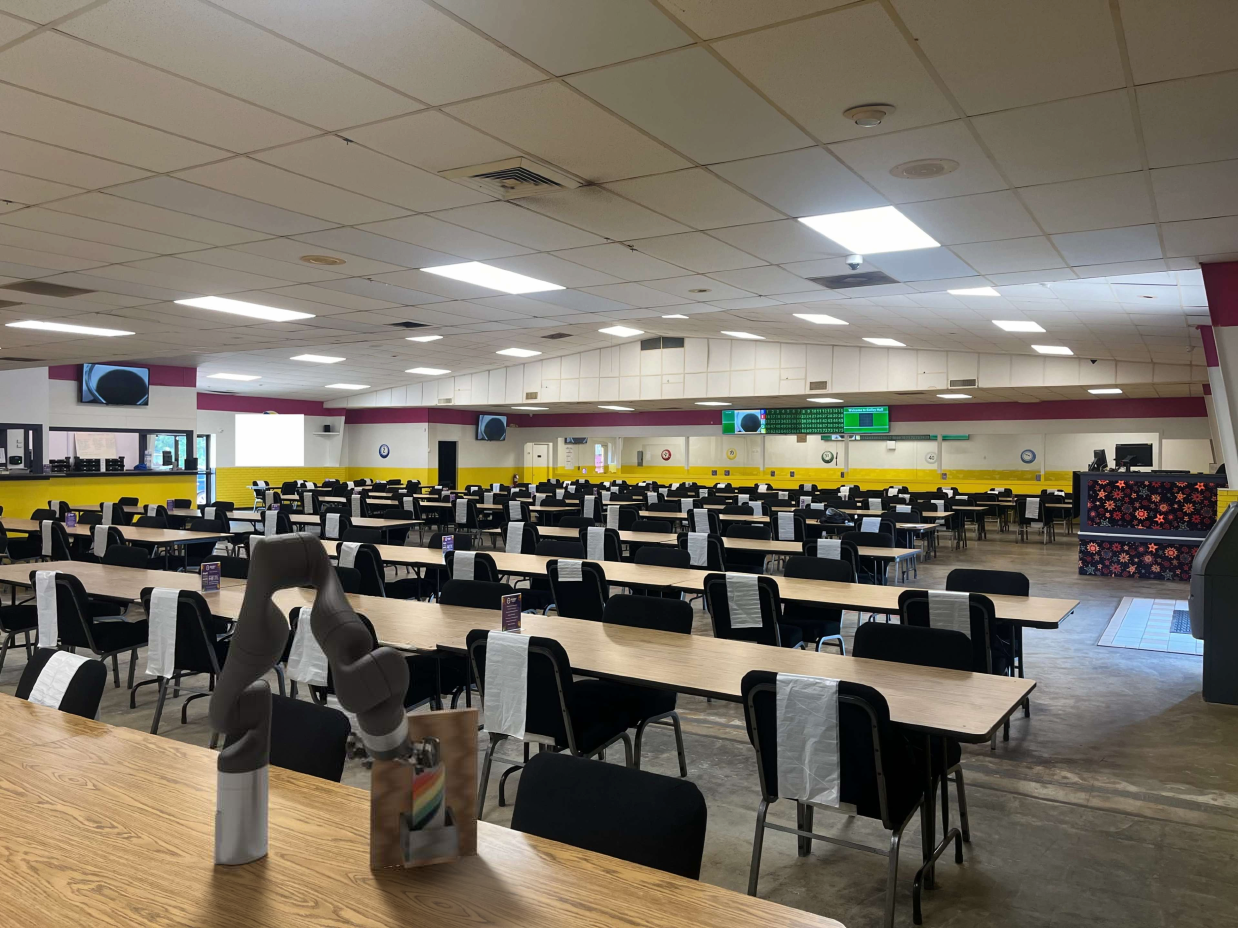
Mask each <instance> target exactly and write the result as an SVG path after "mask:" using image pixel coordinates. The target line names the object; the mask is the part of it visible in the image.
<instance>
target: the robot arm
mask: <svg viewBox="0 0 1238 928" xmlns="http://www.w3.org/2000/svg"><path fill="white" fill-rule="evenodd" d="M309 585H310V586H312V587H313V588H314V589H315V590H316V594H315V598H314V600H313V601H314V602H313V605H312V607H311V611H310V613H309V625H310V631H311V634H312V636H313V637H314V639H315V641H316V642H317V644H318V646H319V647H320V650H321V651H322V652H323V655H324V656H325V657H326V659H327V661H328V664H329V666H330V670H331V675H332V682H333V689H334V694H335V697H336V700H337V702H338V705H340V706H341V708H343V710H344V711H347V712H348V713H351V714H355V716H356V720H357V726H358V727H357V728H358V733H359V735H358V733H357V732H355V731H350V732H348V735H347V740H346V743H345V751H346V756H347V760H351V761H355V760H356V759H358V762H360V763H361V764H362V765H361V766H362V767H365V769H366V770H367V771H371V768H372V764H373V761H374V760H379V761H390V760H394V761H399V762H401V763H403V764H404V765H406V766H407V765H412V766H414V769H415V773H416V775H420V774H421V773H423V772H424V770H425V767H427V768H432V765H433V761H434V756H435V751H434V748H433V744H432V741H431V740H424V743H422V744H417V743H415V741H414V740H412V739H411V732H410V727H409V723H408V718H407V711H406V709H405V707H404V701H405V698H406V694H407V693H408V689H409V685H410V670H409V665H408V663H407V660H406V658H405V657H404V654H402V653H401V652H400V651H399V650H398V649H396V648H394V647H391V646H383V647H379V648H377V649H375V650H373V646H374V639H373V636H372V634H371V632H370V631H369V629H368V628H367V626H366V625H365V624H364V622H363V621H362V619H361V618H360V616H359V615H358V614H357V612H356V611H355V610H354V608H353V606H352V605H351V603H350V601H349V599H348V597H347V596H346V593H345V591H344V589H343V586H342V584H341V582H340V579H339V576H338V574H337V570H336V569H335V567H334V564H333V563H332V561H331V558H330V556H329V553H328V550H327V549H326V548H325V546H324V543H323V542H322V540H321V539H320V538H319V536H318V535H316V534H315V533H313V532H309V531H297V532H292V533H291V532H290V533H282V534H271V535H267V536H263V537H261V538H260V539H258V540H257V541H256V543H255V544H254V546H253V547H252V552H251V554H250V561H249V566H248V572H247V579H246V584H245V590H244V594H243V598H242V599H243V600H242V603H241V606H240V607H241V608H240V611H239V612H238V613H239V614H238V617H237V620H236V622H235V623H236V624H235V626H234V629H233V632H232V635H231V638H230V642H229V646H228V647H229V648H228V649H227V650H228V651H227V655H226V659H225V662H224V665H223V669H222V670H221V672H220V674H219V678H218V679H217V682H216V684H215V686H214V688H213V691H212V693H211V696H210V699H209V705H208V722H209V725H210V727H211V730H213V732H215V733H217V734H221V735H224V734H226V735H228V734H235V733H238V732H239V733H240V732H246V731H247V733H246V734H245V735H243V737H242V738H240V739H239V740H238V741H236V742H235V743H233V744H230V745H229V746H228V747H226V748H224V749H222V750H221V751H220V752H219V753H218V755H217V759H216V810H215V813H214V850H213V851H214V857H213V858H214V862H213V863H214V865H229V866H231V865H242V864H248V863H252V862H255V861H257V860H259V859H261V858H263V857H264V856H266V854H267V853H268V850H269V849H268V847H269V845H268V843H269V791H270V790H269V783H270V782H269V781H270V780H269V778H270V775H269V774H270V749H271V728H272V727H271V726H272V714H273V694H272V689H271V687H270V685H269V683H268V682H267V681H265V680H262V679H261V678H262V677H264V676H265V675H266V674H267V673H268V672H270V671H271V670H272V669H273V668H274V667H276V665H277V664H278V663H279V661H280V660H281V658H282V656H283V654H284V651H285V648H286V645H287V643H288V639H289V635H290V625H289V624H290V623H289V622H288V619H287V617H286V615H285V613H284V612H283V611H282V610H281V608H280V607H279V606H278V605H277V604H276V603H275V601H274V600H273V599H272V598H273V595H275V593H277V592H279V591H281V590H289V589H296V588H300V587H301V588H302V587H305V586H309ZM372 650H373V651H372ZM360 746H362V747H360ZM415 755H417V758H416V760H415ZM406 756H407V758H405V757H406Z"/></svg>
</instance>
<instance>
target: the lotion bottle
mask: <svg viewBox="0 0 1238 928" xmlns="http://www.w3.org/2000/svg"><path fill="white" fill-rule="evenodd" d="M424 740H431V741H432V744H433V748H434V751H435V756H434V761H433V765H432V768H427V767H425V770H424V772H423V773H421V774H420V775H416V773H415V769H414V772H413V831H418V830H426V829H433V828H440V827H444V816H445V765H444V763H442V762H440V741H439V740H438V739H436V738H422V739H421V741H420V742H419V744H422V743H424Z"/></svg>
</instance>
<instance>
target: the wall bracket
mask: <svg viewBox="0 0 1238 928" xmlns="http://www.w3.org/2000/svg"><path fill="white" fill-rule="evenodd" d="M406 714H407V718H408V723H409V727H410V732H411V739H412V740H414V741H415V743H417V744H419V742H420V741H421V739H422V738H436V739H438V740H439V741H440V762H442V763H444V765H445V816H444V827H440V828H433V829H426V830H418V831H413V772H414V766H412V765H407V766H406V765H404V764H403V763H401V762H399V761H394V760H390V761H379V760H374V761H373V764H372V768H371V770H370V791H369V792H370V800H369V803H370V805H369V807H370V809H369V812H370V813H369V869H370V871H374V870H373V869H375V870H380V869H379V868H382V869H385V868H384V867H389V868H391V867H390V866H396V867H398V866H397V865H402V866H404V869H409V868H414V867H415V868H416V867H421V866H428V865H434V864H441V863H442V864H443V863H449V862H455V861H460V858H461V857H468V856H469V857H470V856H475V855H478V797H479V796H478V792H479V791H478V787H479V786H478V785H479V784H478V783H479V782H478V777H479V774H478V773H479V772H478V771H479V769H478V767H479V766H478V765H479V762H478V761H479V709H478V707H475V706H474V707H465V708H454V709H443V710H441V709H440V710H433V711H421V712H411V713H410V712H406ZM405 758H407V756H406V757H405ZM416 758H417V755H415V760H416Z"/></svg>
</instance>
